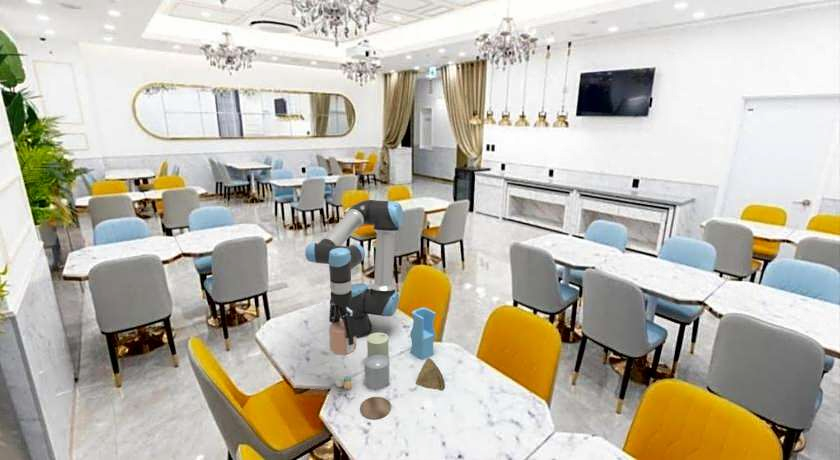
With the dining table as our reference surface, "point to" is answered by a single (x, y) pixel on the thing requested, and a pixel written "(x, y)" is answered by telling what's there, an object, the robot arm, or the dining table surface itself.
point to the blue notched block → (422, 333)
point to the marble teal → (347, 378)
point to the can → (378, 344)
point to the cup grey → (377, 372)
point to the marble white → (339, 383)
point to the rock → (430, 376)
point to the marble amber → (347, 385)
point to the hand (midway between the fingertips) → (343, 345)
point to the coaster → (375, 408)
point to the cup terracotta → (339, 338)
